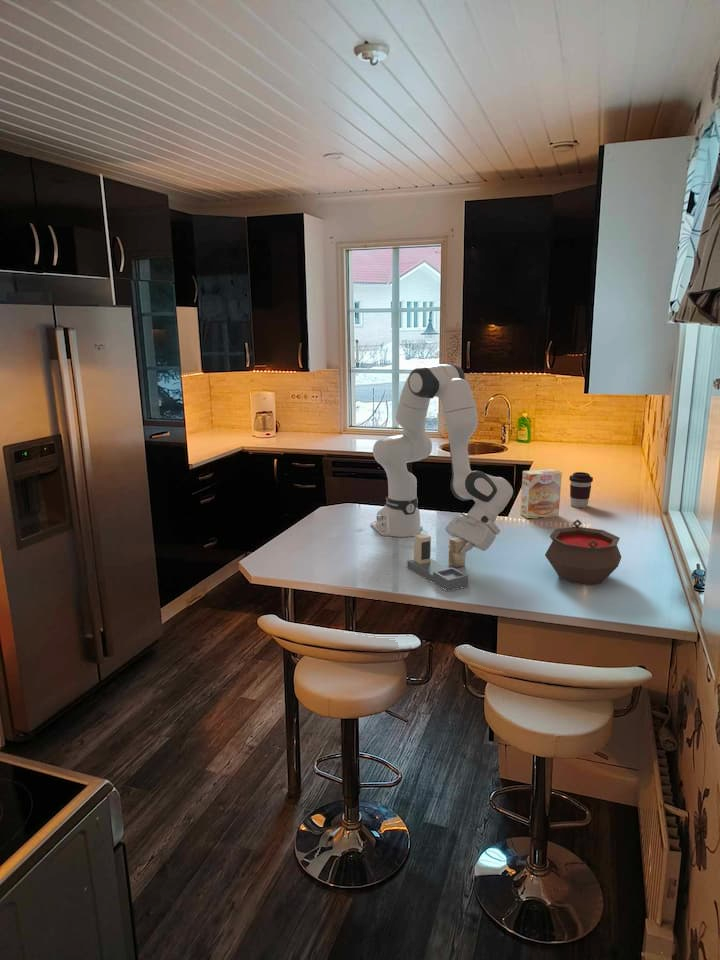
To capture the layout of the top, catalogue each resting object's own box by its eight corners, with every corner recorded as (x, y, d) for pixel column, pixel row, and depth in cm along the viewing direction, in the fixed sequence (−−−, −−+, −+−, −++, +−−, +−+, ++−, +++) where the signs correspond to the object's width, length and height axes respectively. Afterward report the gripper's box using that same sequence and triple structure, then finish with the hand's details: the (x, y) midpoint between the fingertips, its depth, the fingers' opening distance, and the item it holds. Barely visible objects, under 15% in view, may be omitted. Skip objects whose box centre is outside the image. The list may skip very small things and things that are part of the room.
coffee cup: (564, 506, 286) (566, 474, 283) (571, 501, 294) (573, 470, 290) (587, 510, 281) (589, 477, 277) (593, 505, 288) (595, 472, 285)
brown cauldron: (537, 562, 220) (540, 517, 216) (609, 564, 217) (613, 518, 213) (550, 590, 197) (553, 539, 193) (631, 593, 194) (636, 542, 190)
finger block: (448, 563, 218) (449, 538, 216) (457, 561, 220) (458, 536, 218) (455, 567, 215) (456, 542, 213) (465, 565, 217) (466, 540, 215)
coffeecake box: (527, 519, 268) (530, 474, 264) (519, 514, 275) (521, 470, 270) (559, 516, 272) (562, 472, 267) (550, 512, 278) (553, 468, 274)
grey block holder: (407, 567, 216) (407, 535, 213) (426, 563, 219) (427, 531, 217) (447, 591, 196) (448, 556, 193) (468, 586, 200) (469, 551, 197)
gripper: (456, 506, 226) (432, 537, 223) (494, 521, 208) (469, 555, 206) (465, 516, 229) (442, 547, 227) (503, 532, 211) (479, 565, 209)
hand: (455, 551), depth 216 cm, fingers closed on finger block, 4 cm apart
